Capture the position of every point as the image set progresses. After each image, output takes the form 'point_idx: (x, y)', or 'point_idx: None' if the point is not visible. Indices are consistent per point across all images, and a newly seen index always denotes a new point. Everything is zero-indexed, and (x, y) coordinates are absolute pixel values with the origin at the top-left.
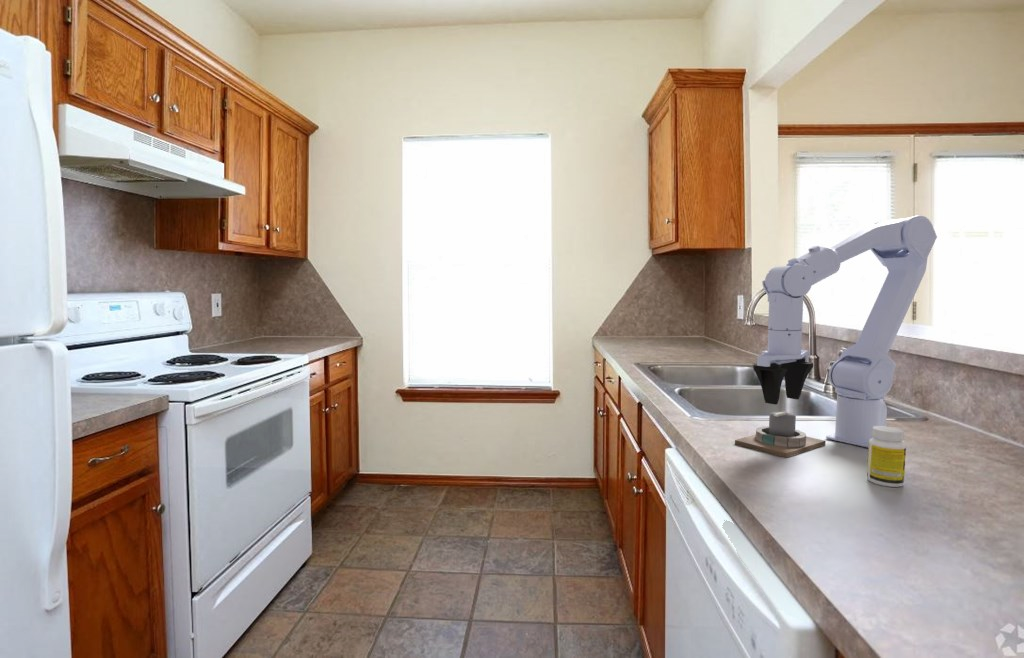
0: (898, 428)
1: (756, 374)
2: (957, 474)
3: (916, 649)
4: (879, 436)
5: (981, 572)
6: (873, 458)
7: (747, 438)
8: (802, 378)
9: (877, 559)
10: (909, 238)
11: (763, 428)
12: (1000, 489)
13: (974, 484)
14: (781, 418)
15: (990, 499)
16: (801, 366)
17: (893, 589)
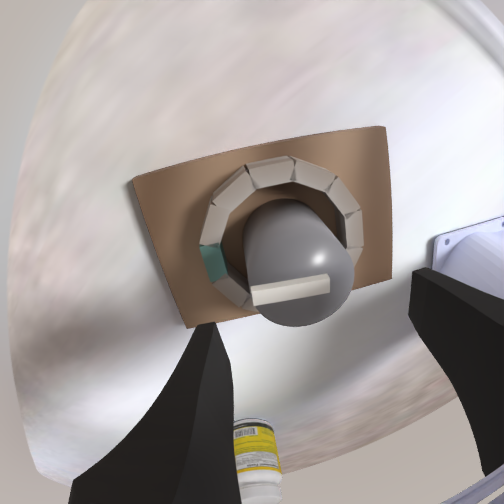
0: (278, 502)
1: (107, 454)
2: (377, 418)
3: (53, 480)
4: None
5: None
6: None
7: (187, 178)
8: (462, 401)
9: (82, 469)
10: None
11: (271, 183)
12: (352, 446)
13: (348, 438)
14: (259, 310)
15: (305, 460)
16: (494, 449)
17: (70, 475)
